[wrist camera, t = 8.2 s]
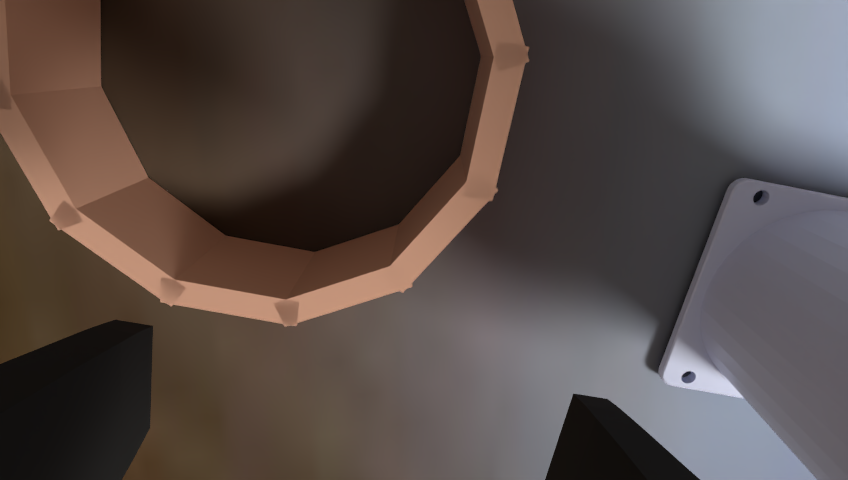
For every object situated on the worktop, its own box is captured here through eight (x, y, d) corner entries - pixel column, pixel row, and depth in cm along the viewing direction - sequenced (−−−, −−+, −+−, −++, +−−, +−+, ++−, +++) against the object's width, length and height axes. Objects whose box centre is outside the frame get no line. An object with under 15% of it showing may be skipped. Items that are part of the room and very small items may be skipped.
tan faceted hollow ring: (551, -129, 16) (588, -188, 12) (453, 300, 20) (458, 357, 16) (66, -234, 15) (-58, -331, 11) (76, 231, 19) (-10, 274, 16)
